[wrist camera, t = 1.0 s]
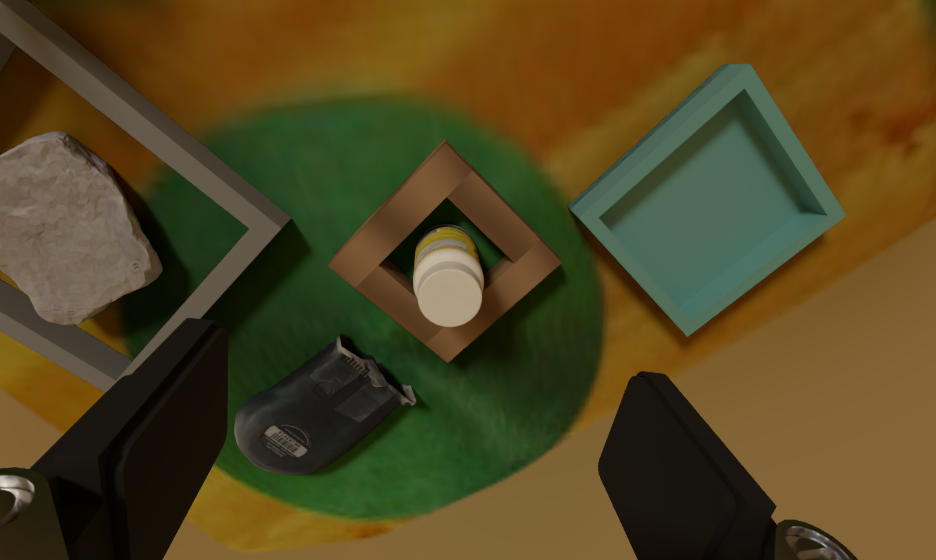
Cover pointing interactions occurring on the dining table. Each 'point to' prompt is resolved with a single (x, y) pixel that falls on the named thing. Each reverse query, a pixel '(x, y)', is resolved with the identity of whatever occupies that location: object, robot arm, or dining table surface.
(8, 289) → the gray rectangular frame
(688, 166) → the tray
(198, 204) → the dining table surface
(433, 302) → the supplement bottle
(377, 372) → the electronic device
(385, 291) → the square wooden frame
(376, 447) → the dining table surface
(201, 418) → the robot arm
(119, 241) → the stone block
